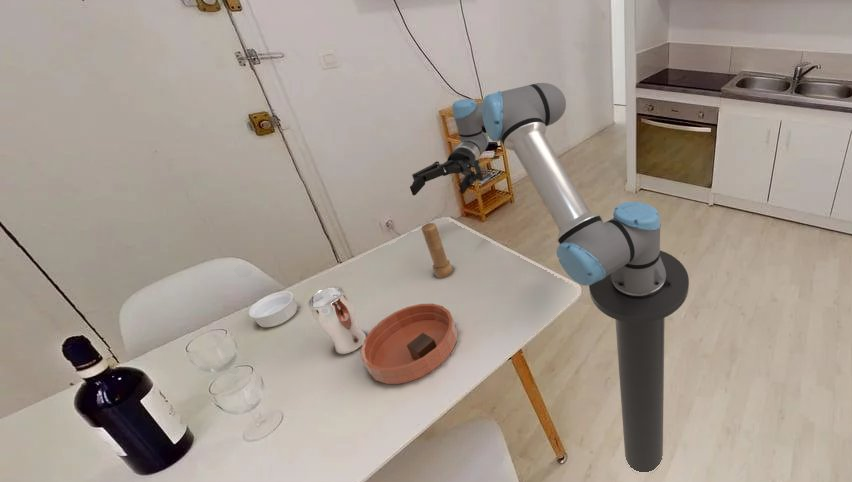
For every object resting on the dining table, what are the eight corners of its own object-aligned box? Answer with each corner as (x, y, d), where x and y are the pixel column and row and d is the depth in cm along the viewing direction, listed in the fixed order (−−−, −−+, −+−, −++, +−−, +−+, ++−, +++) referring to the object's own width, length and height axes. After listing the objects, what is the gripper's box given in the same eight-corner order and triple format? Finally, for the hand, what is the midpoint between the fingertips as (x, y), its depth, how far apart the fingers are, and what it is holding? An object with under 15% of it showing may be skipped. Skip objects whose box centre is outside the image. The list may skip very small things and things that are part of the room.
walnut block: (438, 351, 93) (434, 339, 91) (423, 364, 90) (417, 352, 88) (427, 344, 94) (422, 332, 92) (411, 357, 91) (406, 345, 89)
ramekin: (260, 335, 98) (251, 323, 96) (253, 317, 104) (245, 304, 101) (304, 314, 104) (296, 302, 102) (296, 297, 109) (288, 285, 107)
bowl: (468, 317, 102) (464, 302, 100) (437, 384, 86) (431, 369, 84) (395, 318, 102) (389, 304, 100) (351, 386, 86) (342, 371, 84)
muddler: (454, 266, 119) (440, 221, 111) (449, 277, 115) (434, 231, 107) (438, 267, 119) (423, 222, 111) (432, 278, 115) (416, 232, 107)
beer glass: (337, 337, 97) (310, 290, 90) (370, 327, 100) (347, 281, 92) (330, 360, 92) (302, 312, 85) (366, 349, 94) (341, 302, 87)
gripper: (504, 166, 134) (484, 200, 115) (428, 169, 134) (396, 203, 115) (500, 145, 130) (479, 176, 112) (421, 148, 130) (387, 180, 111)
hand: (437, 190), depth 113 cm, fingers open, 13 cm apart
